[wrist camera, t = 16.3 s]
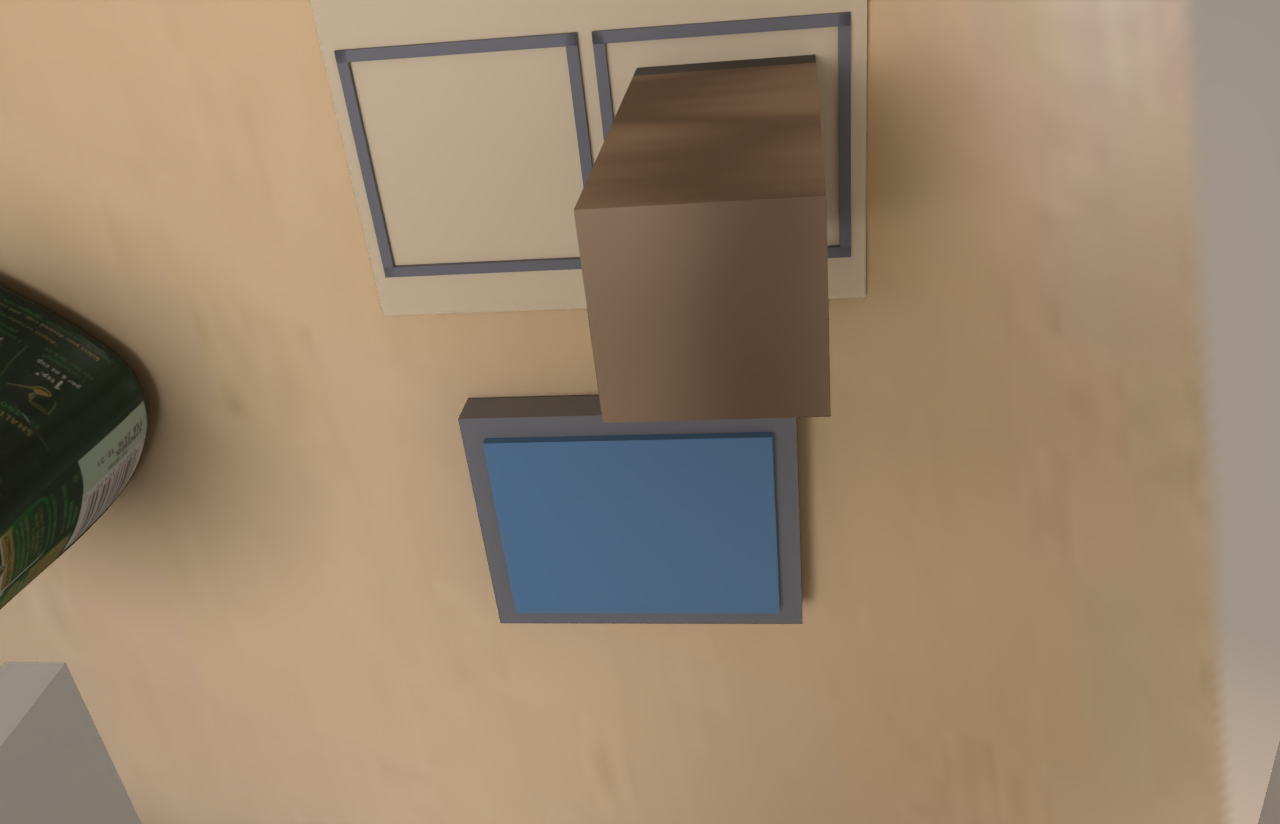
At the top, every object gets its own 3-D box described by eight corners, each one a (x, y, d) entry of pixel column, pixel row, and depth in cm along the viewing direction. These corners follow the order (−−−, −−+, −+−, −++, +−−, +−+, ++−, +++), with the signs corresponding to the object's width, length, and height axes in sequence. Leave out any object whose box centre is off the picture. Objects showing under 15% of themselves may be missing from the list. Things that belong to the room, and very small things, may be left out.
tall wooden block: (653, 233, 31) (602, 422, 23) (636, 67, 29) (573, 210, 20) (818, 224, 31) (830, 416, 22) (814, 54, 28) (826, 195, 20)
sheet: (385, 313, 34) (381, 318, 33) (311, -3, 29) (307, 0, 29) (865, 294, 32) (866, 300, 31) (866, -49, 27) (868, -46, 27)
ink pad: (508, 599, 39) (498, 628, 38) (468, 398, 35) (455, 424, 34) (802, 599, 38) (802, 630, 36) (795, 389, 34) (796, 415, 32)
